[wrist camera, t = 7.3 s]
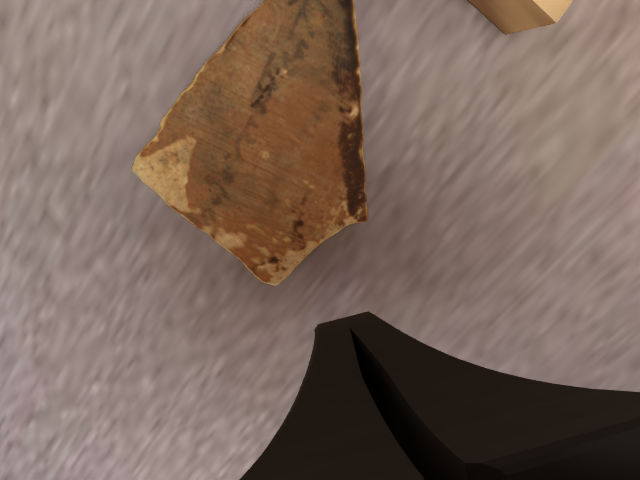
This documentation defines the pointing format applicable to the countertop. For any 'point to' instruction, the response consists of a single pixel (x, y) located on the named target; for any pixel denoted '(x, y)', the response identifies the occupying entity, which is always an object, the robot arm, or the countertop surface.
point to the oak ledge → (521, 13)
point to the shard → (269, 137)
